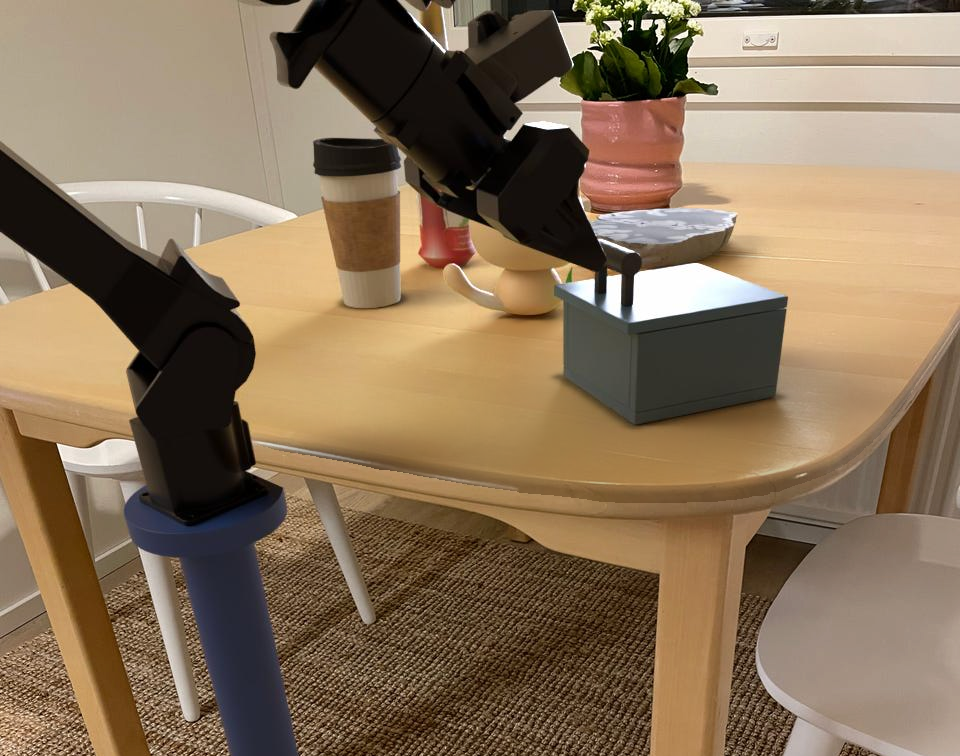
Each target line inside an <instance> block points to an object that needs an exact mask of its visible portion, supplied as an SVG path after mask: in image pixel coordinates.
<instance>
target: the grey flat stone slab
mask: <svg viewBox="0 0 960 756" xmlns="http://www.w3.org/2000/svg"><path fill="white" fill-rule="evenodd" d="M737 217H738V213H737V212H736V211H730V210H729V211H728V210H720V209H709V208H708V209H707V208H697V207H695V208H694V207H674V208H653V209H651V208H650V209H637V210H636V209H635V210H627V211H616V212H610V213H604V214H600V215H599V214H598V215H597V216H595V218H596V220H589V222H590V224H591V226H592V228H593V230H594V232H595V234H596V236H597V238H598V239H602V240H605V241H608V242H610V243H613V244H615V245H618V246H620V247H623V248H626V249H628V250H631V251H633V252H636V253H638V254H639V255H640V257H641V259H642V266H641V268H643V269H661V268H668V267H674V266H681V265H687V264H693V263H696V262H699V261H703V260H704V259H707V258H709V257H710V256H713V255H716V254H718V253H720V251H722V250H723V249H724V248H725V246H726V245H727V244H728V243H729V241H730V238H731V236H732V235H733V232H734V228H735V224H736V223H737Z"/></svg>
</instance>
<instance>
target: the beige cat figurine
mask: <svg viewBox="0 0 960 756" xmlns="http://www.w3.org/2000/svg"><path fill="white" fill-rule="evenodd" d="M578 197H579V199H580V202H581V204H582V207H583V208H584V204H583V201H582V198H581V197H582V195H581V183H580V181H579V184H578ZM469 230H470V236H471V240H472V243H473V246H474V248H475V250H476V253H477V254H478V255H479V257H481V258H482V259H483V260H484V261H486V262H487V263H489V264H490V265H492V266H496V267H497V268H501V269H504V270H503V271H502V272H501V274H500V276H499V278H498V280H497V282H496V284H495V288H494V292H493V293H491V292H488V291H485V290H481V289H479V288H477V287H475V286H474V285H473V284H472V283H471V282H470V281H469V279H468V277H467V276H466V274H465V272H464V271H463V269H462V268H461V266H457V265H456V264H448V265H447V266H446V267H445V268H443V271H442V276H443V279H444V281H445V283H446V285H447V286H448V287H449V288H450V289H451V290H452V291H453V292H455V293H457V294H459V295H460V296H462V297H464V298H466V299H467V300H470V302H472V303H474V304H476V305H477V306H480V307H482V308H485V309H488V310H492V311H498V312H507V313H510V314H511V315H512V314H513V315H518V316H535V315H542V314H546V313H550V312H552V311H553V310H555V309H556V308H557V307H558V306H559V305H560V304H561V303H562V302H563V300H562V299H560V298H558V297H556V296H554V285H557V284H563V282H562V280H561V277H560V276H559V274H558V272H557V271H556V270H555V269H558V268H562V267H565V266H568V265H569V264H570V263H569V262H567V261H564V260H561V259H558V258H556V257H553V256H550V255H548V254H545V253H542V252H540V251H537V250H534V249H531V248H529V247H526V246H523V245H520V244H518V243H516V242H514V241H511V240H509V239H507V238H505V237H504V236H503V234H501V233H500V232H499V231H498V230H495V229H493V228H490V227H488V226H485V225H483V224H480V223H478V222H475V221H473V220H470V219H469ZM609 276H610V275H609V273H608V272H607V277H609ZM570 282H573V267H570V270H569V272H568V274H567V276H566V280H565V283H570Z"/></svg>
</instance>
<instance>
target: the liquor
mask: <svg viewBox="0 0 960 756" xmlns="http://www.w3.org/2000/svg"><path fill="white" fill-rule="evenodd" d="M444 17H445V16H444V8H443V7H441V6H439V5H437V4H436V3H434V2H432V1H431V4H430V6H429V7H428V9H427V10H426V11H425V12H423V11H420V25H421V26H422V27H423V28H424V29H425V30H426V31H427V32H428V34H429V35H430V36H431V37H432V38H433V39H434V40H435V41H436V42H437V43H438V44H439V45H440V46H441V48H442V49H443V50H446V51H449V46H448V39H447V30H446V24H445V18H444ZM434 189H435V190H436V191H437V192H438V193H440V191H439V190H438V189H436V188H434ZM415 196H416V205H417V215H418V227H419V235H420V236H419V237H420V244H421V245H420V247H419V250H418V252H417V254H418V255H419V257H420V258H421V259H422V260H424V262H425V263H426V264H428V265H429V267H432V268H437V269H438V268H439V269H444V268H445V267H446V266H447V265H448V264H456V265H457V266H459V267H463V266H465V265H466V264H467V263H468V262H470V260H471V259H472V258H473V256H474V255H476V253H477V251H476V250H475V248H474V246H473V243H472V240H471V236H470V230H469V219H467V218H465V217H462V216H460V215H457V214H454V213H452V212H449V211H447V210H445V209H443V208H441V207H439V206H437V205H435V203H433V202H431V201H428V200H426V199H424V198H423V197H422V196H421V195H420V194H419V193H418V192H417V191H416V190H415Z"/></svg>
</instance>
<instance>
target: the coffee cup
mask: <svg viewBox="0 0 960 756" xmlns="http://www.w3.org/2000/svg"><path fill="white" fill-rule="evenodd" d="M312 144H313V145H312V147H313V164H312V166H313V168H314V172H313V173H314V174H315V175H317V176H318V179H319V183H320V188H321V194H322V196H321V203H322V208H323V213H324V217H325V220H326V227H327V231H328V235H329V239H330V243H331V249H332V253H333V257H334V258H333V259H334V262H335V267H336V268H337V274H338V278H339V284H340V289H341V295H342V300H343V303H344V305H346V306H347V307H350V308H355V309H376V308H384V307H388V306H392V305H394V304H397V303H399V302H400V300H401V299H402V286H401V191H400V190H399V179H398V174H399V173H398V170H399V169H401V168H402V165H401V161H402V158H401V155H400V154H399V150H398V149H399V148H398V147H397V146H396V145H395V144H394V145H392V144H389V143H386V142H385V141H384V140H383V139H382V138H359V137H358V138H357V137H324V138H318V139H315V140H313V141H312Z"/></svg>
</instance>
